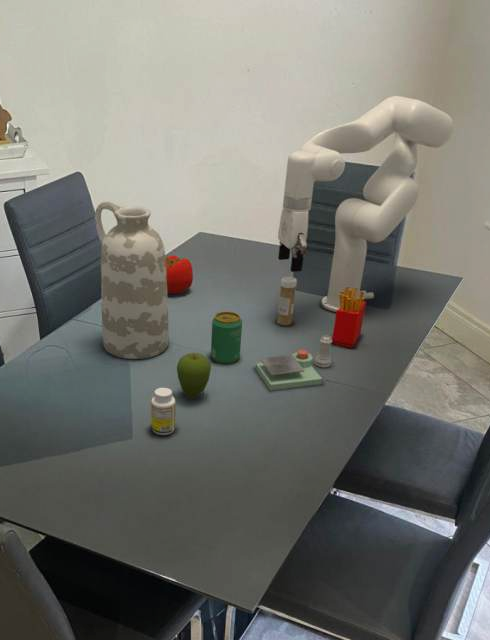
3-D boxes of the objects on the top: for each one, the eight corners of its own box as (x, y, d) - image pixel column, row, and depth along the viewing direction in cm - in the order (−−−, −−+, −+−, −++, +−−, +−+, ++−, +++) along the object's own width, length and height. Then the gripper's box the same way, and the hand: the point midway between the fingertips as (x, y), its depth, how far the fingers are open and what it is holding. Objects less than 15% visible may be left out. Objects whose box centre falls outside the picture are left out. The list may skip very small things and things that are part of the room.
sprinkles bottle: (295, 323, 221) (300, 279, 212) (283, 327, 219) (288, 283, 210) (285, 318, 224) (289, 274, 215) (273, 321, 222) (277, 278, 213)
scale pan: (291, 356, 197) (292, 354, 196) (304, 371, 190) (304, 370, 190) (259, 359, 195) (260, 358, 195) (271, 375, 188) (271, 374, 188)
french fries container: (329, 344, 210) (336, 296, 201) (337, 331, 217) (344, 285, 208) (353, 348, 208) (362, 300, 199) (361, 335, 214) (369, 289, 206)
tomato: (199, 288, 242) (200, 256, 236) (178, 301, 234) (179, 269, 227) (164, 279, 248) (164, 248, 242) (143, 292, 239) (142, 260, 233)
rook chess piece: (332, 362, 201) (336, 334, 196) (329, 369, 198) (333, 341, 193) (315, 359, 202) (319, 332, 198) (312, 367, 199) (316, 339, 194)
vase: (179, 337, 213) (180, 199, 189) (151, 365, 200) (149, 220, 176) (116, 325, 220) (111, 190, 196) (86, 351, 207) (76, 210, 183)
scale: (306, 362, 201) (308, 351, 199) (324, 384, 192) (326, 372, 190) (254, 368, 199) (255, 356, 196) (270, 390, 189) (271, 378, 187)
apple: (198, 407, 183) (200, 365, 175) (169, 398, 186) (170, 356, 179) (215, 392, 188) (217, 351, 181) (187, 384, 192) (188, 343, 185)
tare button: (304, 355, 198) (305, 349, 197) (308, 359, 196) (309, 353, 195) (295, 356, 197) (296, 350, 196) (299, 360, 195) (300, 354, 194)
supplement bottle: (161, 421, 178) (161, 383, 171) (179, 428, 175) (180, 390, 169) (146, 430, 174) (146, 392, 168) (164, 438, 172) (164, 400, 165)
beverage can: (223, 348, 208) (226, 308, 200) (245, 358, 203) (248, 316, 196) (204, 358, 203) (206, 316, 196) (226, 367, 199) (228, 325, 191)
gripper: (273, 194, 206) (267, 255, 216) (295, 212, 192) (288, 277, 203) (298, 192, 207) (291, 254, 218) (322, 210, 194) (313, 275, 204)
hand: (289, 265), depth 210 cm, fingers open, 9 cm apart
